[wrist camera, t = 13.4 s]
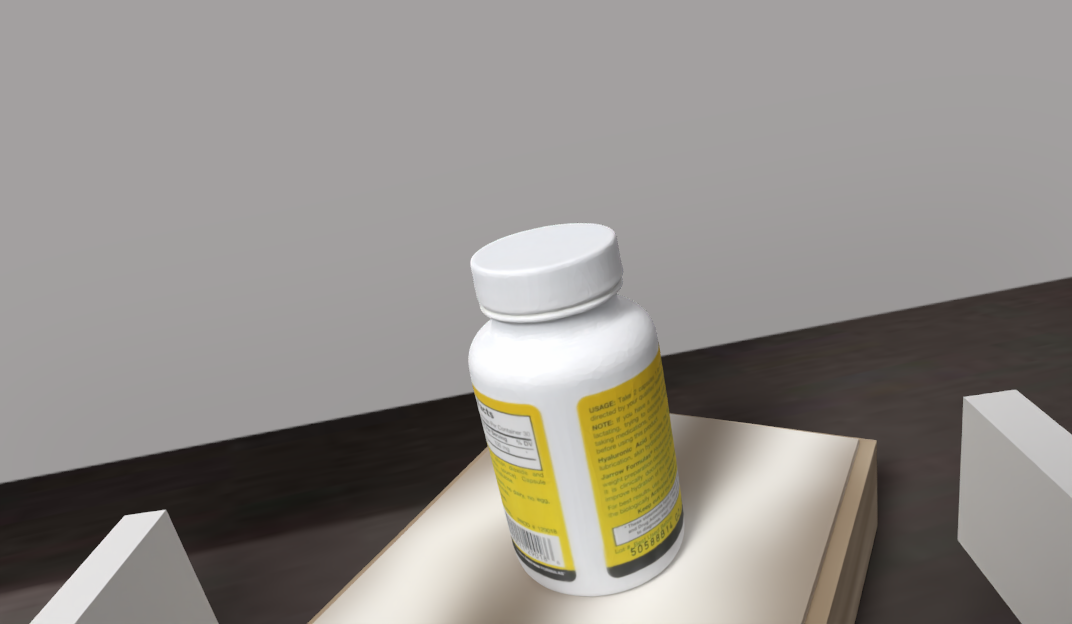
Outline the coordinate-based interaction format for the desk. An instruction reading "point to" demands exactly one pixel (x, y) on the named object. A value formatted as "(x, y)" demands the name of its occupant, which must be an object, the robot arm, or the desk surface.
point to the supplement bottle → (575, 411)
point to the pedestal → (695, 572)
